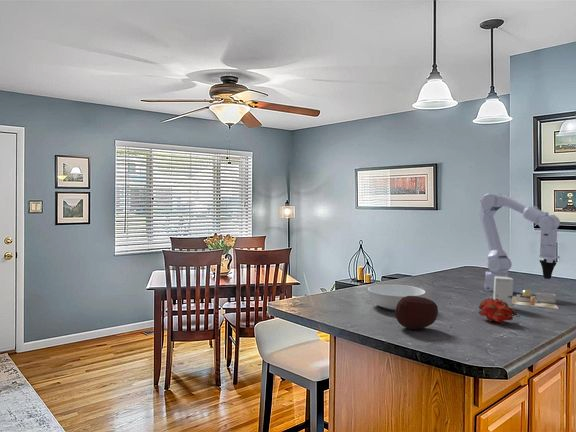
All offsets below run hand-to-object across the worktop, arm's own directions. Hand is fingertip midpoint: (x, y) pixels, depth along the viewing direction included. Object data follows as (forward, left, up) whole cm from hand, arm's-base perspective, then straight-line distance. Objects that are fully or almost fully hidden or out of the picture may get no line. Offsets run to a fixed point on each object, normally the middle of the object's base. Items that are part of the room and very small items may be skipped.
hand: (547, 278), depth 181 cm
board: (-6, -8, -9) cm, 14 cm away
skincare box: (-16, -25, -10) cm, 32 cm away
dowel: (-6, -15, -9) cm, 18 cm away
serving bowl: (-52, -41, -10) cm, 68 cm away
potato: (-42, -66, -10) cm, 79 cm away
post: (-8, -6, -9) cm, 13 cm away
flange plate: (-4, -7, -8) cm, 11 cm away
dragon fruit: (-18, -44, -10) cm, 49 cm away
